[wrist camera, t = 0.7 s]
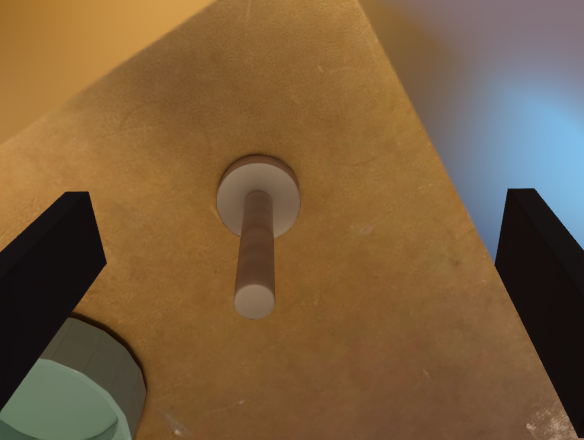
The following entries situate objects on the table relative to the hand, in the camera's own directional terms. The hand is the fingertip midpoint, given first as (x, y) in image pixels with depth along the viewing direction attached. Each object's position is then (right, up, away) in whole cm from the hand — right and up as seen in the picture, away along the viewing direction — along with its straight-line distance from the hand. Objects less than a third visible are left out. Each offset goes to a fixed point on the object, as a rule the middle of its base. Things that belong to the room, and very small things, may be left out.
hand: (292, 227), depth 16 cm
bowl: (-20, -14, +28) cm, 37 cm away
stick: (-2, +2, +22) cm, 22 cm away
